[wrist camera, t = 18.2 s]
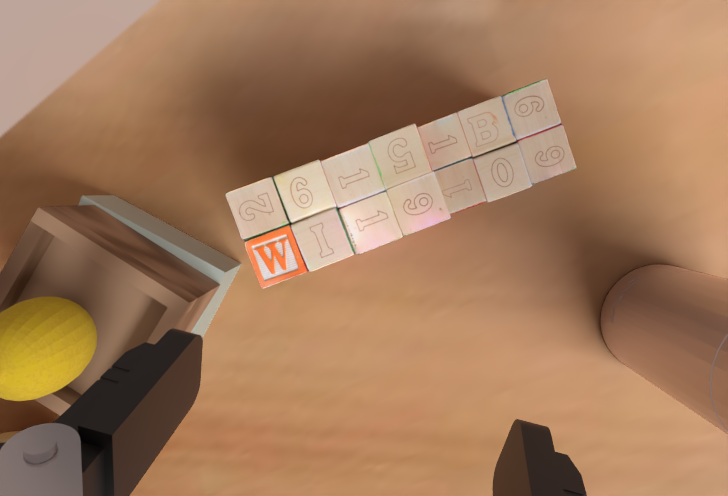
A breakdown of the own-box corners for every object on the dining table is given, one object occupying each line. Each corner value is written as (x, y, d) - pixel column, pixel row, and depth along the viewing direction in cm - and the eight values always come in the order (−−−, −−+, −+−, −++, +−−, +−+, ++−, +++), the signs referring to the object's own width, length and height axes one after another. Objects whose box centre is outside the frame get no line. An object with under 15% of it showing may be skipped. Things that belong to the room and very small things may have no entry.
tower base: (242, 263, 44) (225, 272, 39) (180, 382, 45) (155, 406, 40) (116, 195, 43) (82, 195, 38) (56, 317, 44) (16, 333, 39)
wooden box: (220, 284, 39) (189, 302, 32) (147, 401, 40) (103, 442, 33) (95, 204, 38) (38, 207, 32) (24, 325, 39) (-45, 351, 33)
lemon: (19, 319, 34) (-87, 375, 26) (72, 264, 33) (-22, 305, 25) (84, 376, 35) (-1, 446, 27) (137, 323, 34) (65, 380, 26)
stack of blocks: (510, 103, 42) (568, 64, 29) (534, 176, 42) (600, 169, 30) (265, 193, 43) (221, 192, 30) (291, 263, 43) (259, 290, 31)
